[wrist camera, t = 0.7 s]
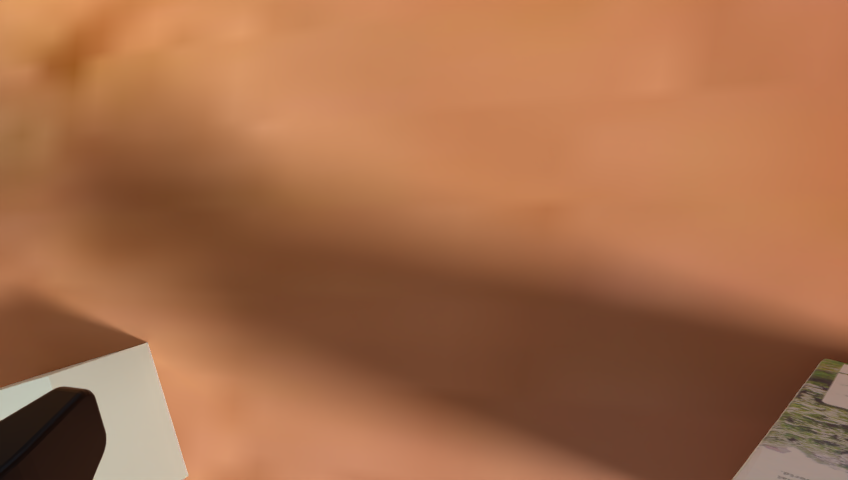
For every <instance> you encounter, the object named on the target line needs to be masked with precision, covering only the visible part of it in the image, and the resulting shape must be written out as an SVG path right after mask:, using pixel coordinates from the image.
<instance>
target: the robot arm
mask: <svg viewBox="0 0 848 480" xmlns="http://www.w3.org/2000/svg"><path fill="white" fill-rule="evenodd" d="M105 447H106V431H105V428H104V424H103V421H102V418H101V414H100V411H99V407H98V404H97V401H96V398H95V395H94V394H93V393H92V392H91V391H90V390H88V389H82V388H74V387H66V386H62V387H58V388H55V389H53V390H51V391H50V392H48V393H46V394H44V395H43V396H41V397H39V398H38V399H36V400H34V401H33V402H31V403H29V404H28V405H26V406H24V407H23V408H21V409H19V410H18V411H16V412H14V413H13V414H11V415H9V416H8V417H6V418H4V419H3V420H1V421H0V480H93V478H94V476H95V473H96V471H97V468H98V466H99V464H100V461H101V459H102V456H103V454H104V451H105Z"/></svg>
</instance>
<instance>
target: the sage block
mask: <svg viewBox="0 0 848 480" xmlns="http://www.w3.org/2000/svg"><path fill="white" fill-rule="evenodd" d="M62 386H66V387H74V388H82V389H88V390H90V391H91V392H92V393H93V394H94V395H95V398H96V401H97V404H98V407H99V411H100V414H101V418H102V421H103V424H104V428H105V431H106V447H105V451H104V454H103V456H102V459H101V461H100V464H99V466H98V468H97V471H96V473H95V476H94V478H93V480H183V479H185V478H186V477H188V472H187V469H186V466H185V463H184V459H183V456H182V453H181V449H180V446H179V443H178V440H177V436H176V433H175V430H174V427H173V423H172V420H171V417H170V413H169V410H168V407H167V404H166V400H165V397H164V394H163V390H162V387H161V384H160V381H159V377H158V374H157V371H156V368H155V364H154V361H153V358H152V354H151V351H150V348H149V345H148V342H147V343H144V344H141V345H138V346H134V347H131V348H128V349H124V350H121V351H118V352H114V353H111V354H108V355H104V356H101V357H98V358H94V359H91V360H88V361H85V362H81V363H78V364H75V365H71V366H68V367H65V368H61V369H58V370H55V371H51V372H48V373H45V374H42V375H38V376H35V377H32V378H29V379H26V380H23V381H20V382H17V383H14V384H11V385H8V386H5V387H2V388H0V421H1V420H3V419H4V418H6V417H8V416H9V415H11V414H13V413H14V412H16V411H18V410H19V409H21V408H23V407H24V406H26V405H28V404H29V403H31V402H33V401H34V400H36V399H38V398H39V397H41V396H43V395H44V394H46V393H48V392H50V391H51V390H53V389H55V388H58V387H62Z"/></svg>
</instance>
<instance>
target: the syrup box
mask: <svg viewBox="0 0 848 480" xmlns="http://www.w3.org/2000/svg"><path fill="white" fill-rule="evenodd" d="M732 480H848V364H847V363H843V362H839V361H835V360H831V359H823V360H822V361H821V362H820V363H819V364H818V366H817V367H816V369H815V370H814V371H813V373H812V374H811V375H810V376H809V378H808V379H807V381H806V382H805V383H804V384H803V386H802V387H801V388H800V390H799V391H798V392H797V393H796V395H795V397H794V398H793V400H792V401H791V402H790V403H789V405H788V406H787V408H786V409H785V410H784V412H783V413H782V414H781V416H780V417H779V419H778V420H777V421H776V422H775V424H774V425H773V426H772V427H771V429H770V430H769V431H768V433H767V434H766V435H765V437H764V438H763V439H762V440H761V442H760V443H759V444H758V446H757V447H756V448H755V450H754V451H753V452H752V454H751V455H750V456H749V458H748V459H747V460H746V462H745V463H744V464H743V466H742V467H741V468H740V470H739V471H738V472H737V473H736V475H735V476H734V477H733V479H732Z"/></svg>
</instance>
